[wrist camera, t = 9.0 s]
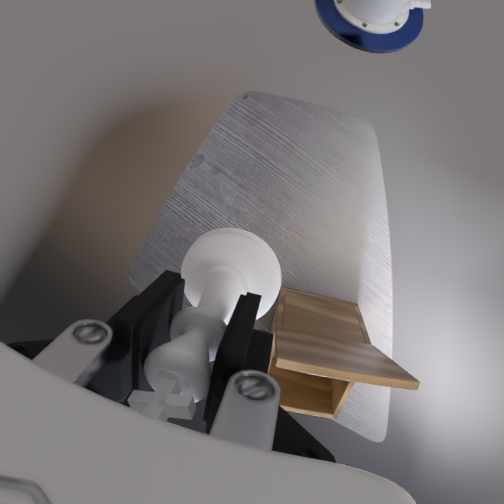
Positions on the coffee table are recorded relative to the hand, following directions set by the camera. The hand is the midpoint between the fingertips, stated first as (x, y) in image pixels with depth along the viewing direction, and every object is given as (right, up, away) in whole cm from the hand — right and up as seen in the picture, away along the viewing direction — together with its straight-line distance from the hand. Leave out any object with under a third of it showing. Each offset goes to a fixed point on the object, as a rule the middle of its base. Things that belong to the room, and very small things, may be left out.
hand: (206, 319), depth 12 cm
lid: (+10, -8, +19) cm, 23 cm away
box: (+11, -11, +40) cm, 43 cm away
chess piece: (+1, +1, +4) cm, 5 cm away
